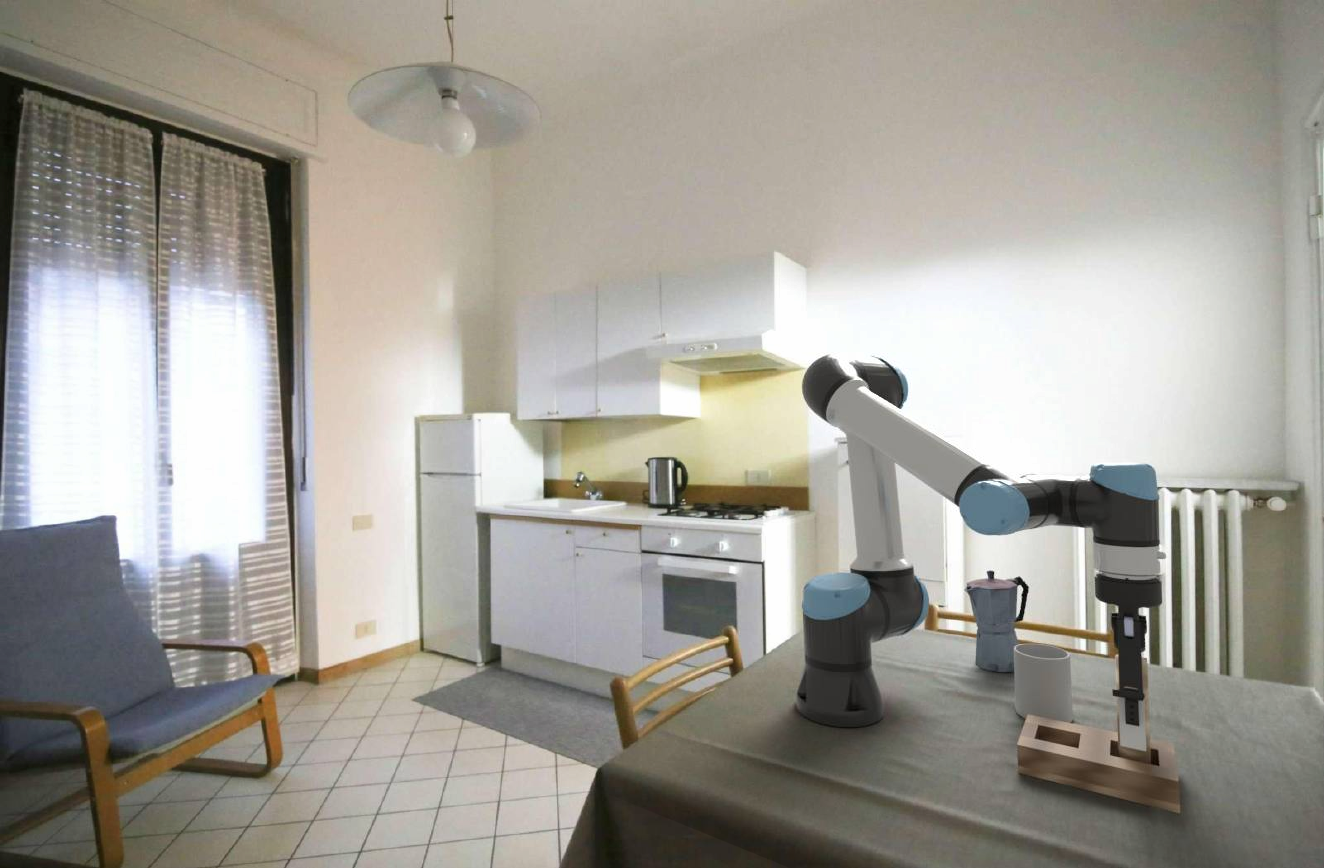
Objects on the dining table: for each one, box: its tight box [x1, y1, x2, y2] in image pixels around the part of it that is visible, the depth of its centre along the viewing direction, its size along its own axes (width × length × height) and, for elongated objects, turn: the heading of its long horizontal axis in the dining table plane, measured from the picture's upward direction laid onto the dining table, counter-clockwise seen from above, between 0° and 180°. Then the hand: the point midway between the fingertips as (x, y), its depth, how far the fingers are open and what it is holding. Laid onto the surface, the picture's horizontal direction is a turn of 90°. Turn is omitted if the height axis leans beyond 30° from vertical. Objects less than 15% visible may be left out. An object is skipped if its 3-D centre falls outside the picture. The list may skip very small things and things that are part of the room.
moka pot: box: [964, 570, 1030, 673], centre depth 133 cm, size 10×15×20 cm, turn 107°
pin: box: [1114, 654, 1151, 764], centre depth 87 cm, size 4×4×16 cm
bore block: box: [1016, 714, 1181, 814], centre depth 90 cm, size 18×12×4 cm, turn 54°
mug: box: [1013, 643, 1074, 723], centre depth 111 cm, size 12×8×11 cm
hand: (1132, 728), depth 87 cm, fingers open, 13 cm apart
